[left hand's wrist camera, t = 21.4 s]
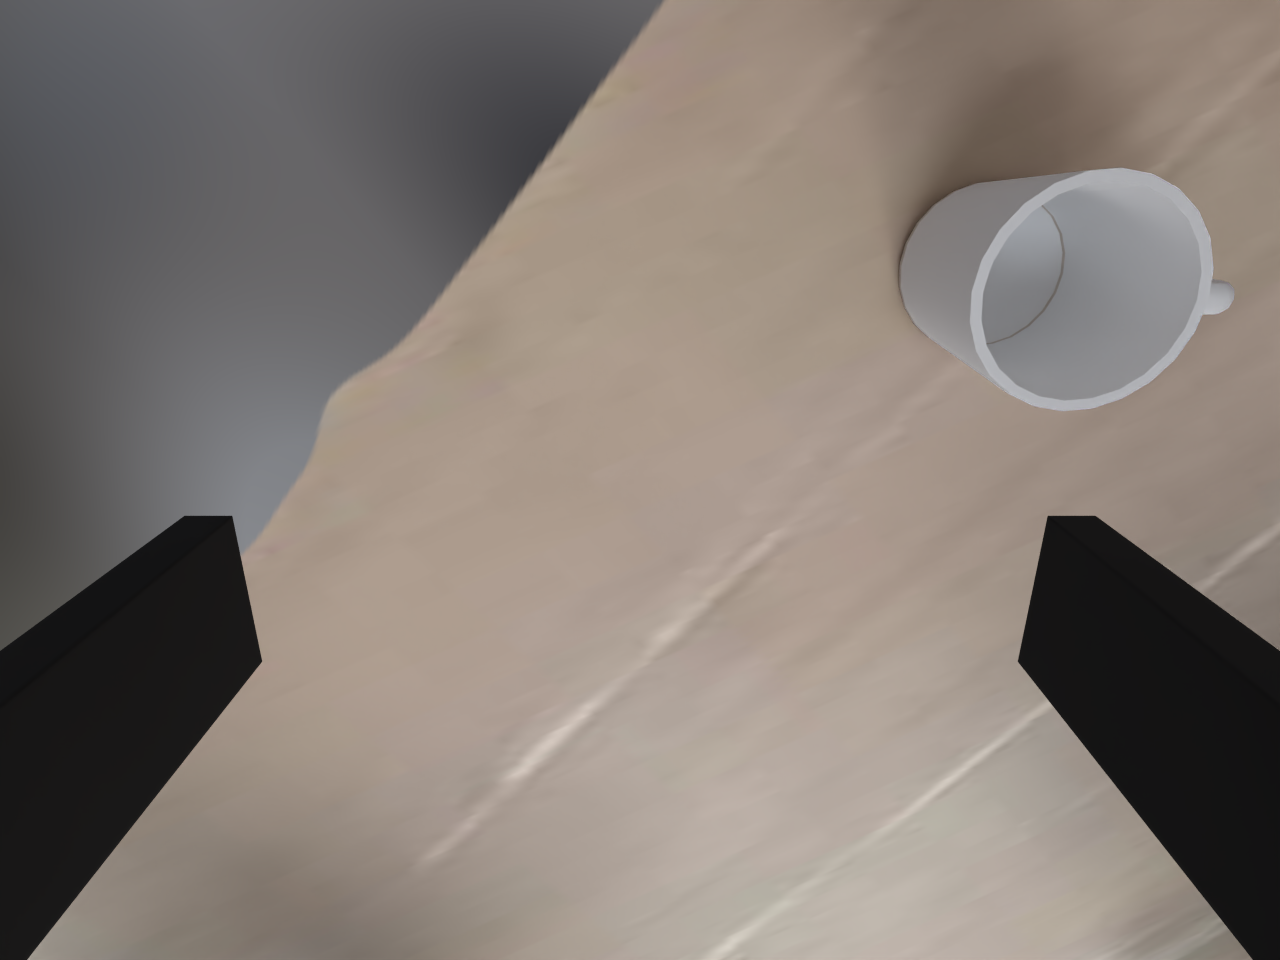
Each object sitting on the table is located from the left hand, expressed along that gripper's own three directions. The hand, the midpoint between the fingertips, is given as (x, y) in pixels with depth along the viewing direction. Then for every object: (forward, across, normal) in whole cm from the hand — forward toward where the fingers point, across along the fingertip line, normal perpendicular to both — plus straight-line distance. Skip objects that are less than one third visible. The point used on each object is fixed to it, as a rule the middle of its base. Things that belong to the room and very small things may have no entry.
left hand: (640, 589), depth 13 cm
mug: (+29, +18, +2) cm, 34 cm away
